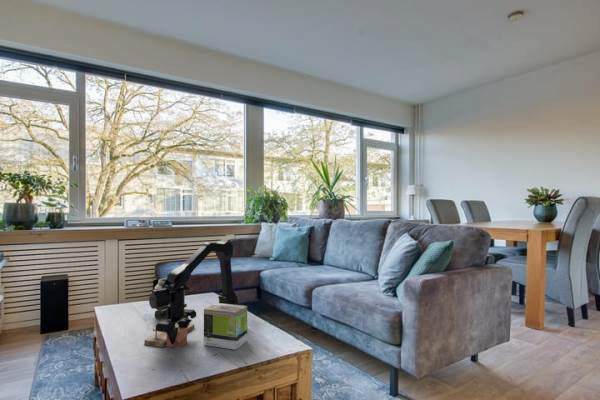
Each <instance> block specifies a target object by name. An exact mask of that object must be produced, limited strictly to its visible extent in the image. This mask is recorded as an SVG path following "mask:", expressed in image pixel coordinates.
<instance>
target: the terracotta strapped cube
mask: <svg viewBox="0 0 600 400" xmlns="http://www.w3.org/2000/svg"><path fill="white" fill-rule="evenodd" d="M176 328H178V331H177V335H176V339H175V342H174V344H171V342H170V340H169V337H168V335H167V333H166V332H163V333H166V346H165V347H171V348H178V349H179V348H181V347H183V346H184V345H186V344H187V343H188V332H187V328H183V327H176ZM152 332H155V334H154V335H155V337H157V333H158V332H160V331H156V330H155V326H154V327H152Z"/></svg>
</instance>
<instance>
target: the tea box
mask: <svg viewBox="0 0 600 400" xmlns="http://www.w3.org/2000/svg"><path fill="white" fill-rule="evenodd" d="M247 342H248V305H243V304H242V305H241V304H240V305H233V304H223V303H219V302H216V303H214V304H212V305H210V306H208V307H206V308H204V309H203V345H204V346H209V347H210V346H211V347H215V348H216V347H217V348H222V349H228V350H238V349H239V348H240V347H242V345H244V344H245V343H247Z"/></svg>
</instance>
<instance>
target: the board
mask: <svg viewBox="0 0 600 400" xmlns="http://www.w3.org/2000/svg"><path fill="white" fill-rule="evenodd" d="M175 327H179V325H178V324H177V323H176V325H175ZM194 329H195V324H194V323H190V324H189V326H188V328H187V333H189V332H191V331H192V330H194ZM143 340H144V342H143V343H144V345H145V346H152V347H153V346H154V347H159V348H165V347H167V346H166V333H163V332H157V337H155V334H153V335H151V336H149V337H147V338H145V339H143Z"/></svg>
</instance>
